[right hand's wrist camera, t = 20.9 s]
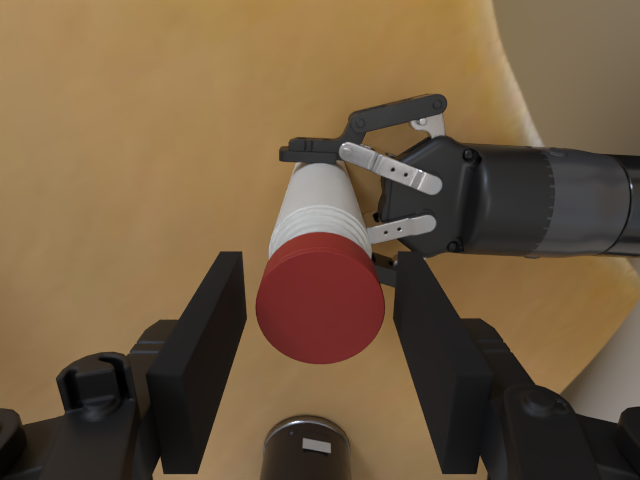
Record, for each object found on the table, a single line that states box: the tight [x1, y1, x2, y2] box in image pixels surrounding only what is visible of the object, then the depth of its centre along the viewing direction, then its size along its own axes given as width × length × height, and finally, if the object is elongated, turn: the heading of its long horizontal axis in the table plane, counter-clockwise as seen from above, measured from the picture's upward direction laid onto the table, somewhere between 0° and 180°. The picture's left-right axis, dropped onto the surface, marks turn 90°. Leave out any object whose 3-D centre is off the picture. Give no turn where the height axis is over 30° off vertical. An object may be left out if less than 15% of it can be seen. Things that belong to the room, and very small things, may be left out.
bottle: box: [269, 160, 372, 259], centre depth 24 cm, size 4×4×22 cm
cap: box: [256, 232, 385, 364], centre depth 14 cm, size 4×4×2 cm
